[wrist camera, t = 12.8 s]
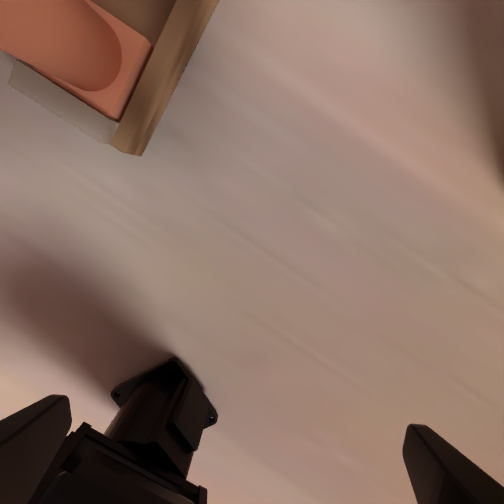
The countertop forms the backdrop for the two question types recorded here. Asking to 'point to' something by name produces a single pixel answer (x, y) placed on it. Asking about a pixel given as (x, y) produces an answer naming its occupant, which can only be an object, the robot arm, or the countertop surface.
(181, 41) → the track
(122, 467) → the robot arm
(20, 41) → the slider knob
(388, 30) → the countertop surface
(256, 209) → the countertop surface
